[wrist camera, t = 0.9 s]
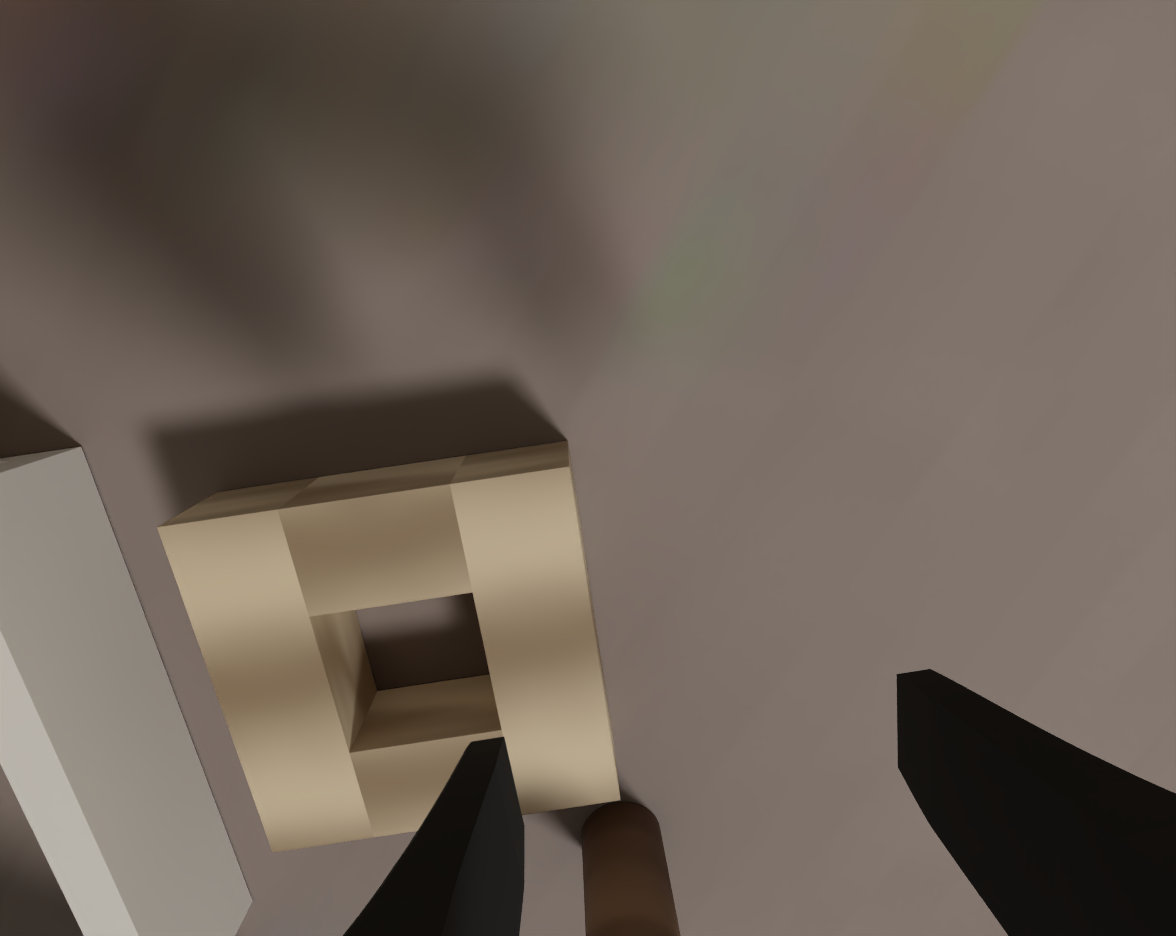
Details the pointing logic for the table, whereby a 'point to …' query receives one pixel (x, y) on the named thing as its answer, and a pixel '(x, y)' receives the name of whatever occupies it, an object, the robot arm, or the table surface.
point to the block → (337, 651)
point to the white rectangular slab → (100, 721)
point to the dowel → (626, 874)
